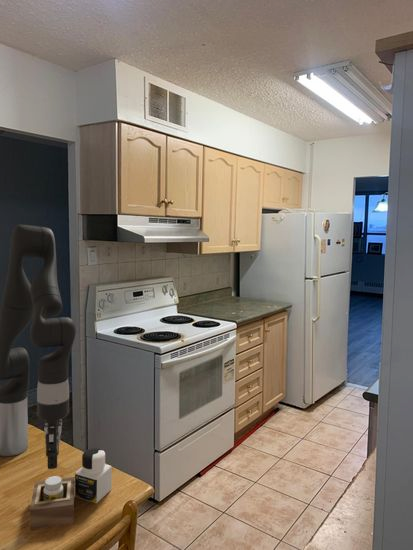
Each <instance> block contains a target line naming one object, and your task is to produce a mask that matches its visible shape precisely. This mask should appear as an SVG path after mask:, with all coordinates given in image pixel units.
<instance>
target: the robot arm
mask: <svg viewBox="0 0 413 550" xmlns="http://www.w3.org/2000/svg"><path fill="white" fill-rule="evenodd" d="M24 258H26V259H27V258H28V259H42V261H43V264H42V266H41V268H40V269H39V270H38V272H37V273H36V275H35V276H34V277H33V280H32V281H31V283H30V281H29V279H28V277H27V276H26V275H27V274H26V272H25V270H24V267H23V261H24ZM57 265H58V264H57V250H56V239H55V234H54V232H53V231H52V229H51V228H49V227H44V226H37V225H27V224H17V225H16V226H15V227H14V228H13V231H12V234H11V239H10V249H9V259H8V266H7V267H8V268H7V276H6V282H5V285H4V286H5V287H4V291H3V294H2V295H3V296H2V300H1V301H2V302H1V305H0V306H1V307H0V382H1V381H2V382H3V381H7V380H9V381H8V382H6V383H5V384H4V385H3V386H1V387H0V456H2V457H12V456H16V455H20V454H22V453H24V452H25V451H26V450H27V449H28V448H29V439H28V438H29V436H28V435H29V434H28V433H29V432H28V431H29V430H28V424H29V422H28V419H29V418H28V415H29V414H28V392H29V388H30V387H29V385H30V367H31V365H30V364H31V363H30V361H31V360H30V356H29V353H28V351H27V350H26V348H24V347H21V346H20V347H14V348H12V347H13V345H14V343H15V341H16V340H17V339H18V337H20V335H21V334H22V333H23V332H24V331H25V330H26V328H27V327H28V326H29V324H31V326H30V331H29V339H30V342H31V345H32V346H34V347H35V348H39V349H45V348H46V349H49V348H55V347H57V349H56V350H55V351H54V352H51V353H49V354H45V355H43V356H42V357H40V358H39V360H38V361H37V387H36V399H37V400H36V407H37V408H36V417H37V418H38V419H39V420H41V421H45V423H44V425H43V426H44V427H43V428H44V429H43V431H44V438H45V439H44V444H45V457H47V469H48V470H52V469H53V470H54V469H55V470H56V469H57V468H58V455H59V452H60V450H59V449H60V443H61V434H62V427H63V420H62V419H64V418H66V417H67V416H68V415H69V413H70V384H69V360H70V355H71V352H72V348H73V344H74V341H75V338H76V335H77V334H76V333H77V332H76V331H77V326H76V324H75V322H74V320H72V318H70V317H65V316H62V317H56V316H58V315H59V314H61V313H62V311H63V301H62V296H61V292H60V289H59V284H58V283H59V282H58V274H57V273H58V271H57V270H58V269H57V267H58V266H57Z"/></svg>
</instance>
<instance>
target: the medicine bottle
mask: <svg viewBox="0 0 413 550" xmlns="http://www.w3.org/2000/svg"><path fill="white" fill-rule="evenodd" d="M81 457H82V458H81V461H82V462H81V463H82V464H81V467H80V468H79V469H78V470H76V472H75V473H74V477H75V497H74V498H77V499H79V500H80V499H81V500H84V501H87V502H90V503H93V504H98V503H99V502H100V501H101V500H102V499H103V498H104V497H105V496H106V495H107V494H109V493H110V492H111V490H112V484H113V483H112V480H113V479H112V477H113V476H112V473H113V470H112V469H113V467H112V465H109V464H106V452H105V451H104V450H103V449H102V448H97V447H96V448H95V447H94V448H89V449H87V450H85V451H84V452H83V453H82V456H81Z"/></svg>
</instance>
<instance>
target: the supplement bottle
mask: <svg viewBox="0 0 413 550" xmlns="http://www.w3.org/2000/svg"><path fill="white" fill-rule="evenodd" d="M45 480H46V481H45ZM45 480H44V481H45V488H44V491H43V501H47V500H55V499H62V498H63V486H62V476H61V477H60V476H59V475H53V476H49V477H48V478H46V479H45Z"/></svg>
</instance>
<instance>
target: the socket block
mask: <svg viewBox="0 0 413 550" xmlns="http://www.w3.org/2000/svg"><path fill="white" fill-rule="evenodd" d="M61 479H62V486H63V498H62V499H55V500H47V501H43V491H44V488H45V481H46V479H45V480H39V481H35V482H34V486H33V489H32V490H33V492H32V496H31V501H30V506H29V531H31V530H36V529H37V530H38V529H39V530H40V529H47V528H51V527H60V526H66V525H72V524H74V518H75V517H74V516H75V498H76V497H75V476H73V477H72V476H71V477H65V478H64V477H63V478H62V477H61Z"/></svg>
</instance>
